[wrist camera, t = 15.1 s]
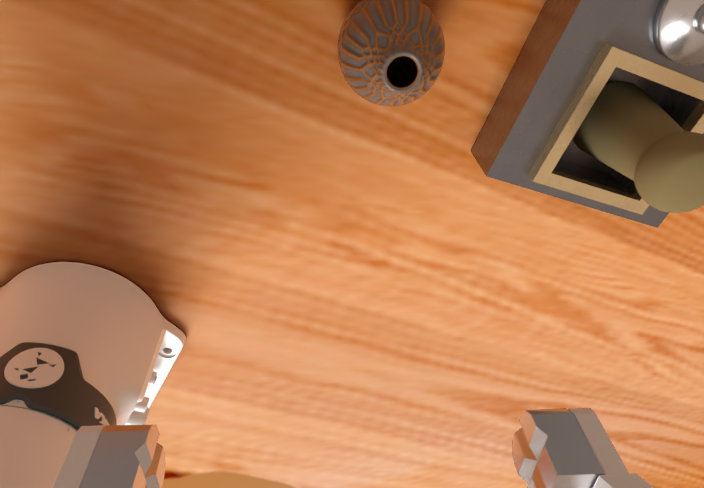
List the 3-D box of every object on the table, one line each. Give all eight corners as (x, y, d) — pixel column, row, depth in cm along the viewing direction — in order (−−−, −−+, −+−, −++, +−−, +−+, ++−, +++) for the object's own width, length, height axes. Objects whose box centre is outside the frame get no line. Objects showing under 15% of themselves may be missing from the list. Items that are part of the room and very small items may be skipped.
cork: (586, 168, 43) (662, 243, 34) (559, 111, 40) (634, 177, 31) (657, 127, 41) (757, 194, 32) (635, 64, 38) (738, 119, 29)
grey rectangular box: (629, 200, 46) (670, 239, 41) (470, 151, 42) (493, 187, 37) (781, -11, 37) (859, 5, 32) (596, -99, 33) (650, -97, 28)
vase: (327, -6, 35) (332, 20, 28) (427, -26, 35) (459, -4, 27) (344, 93, 39) (352, 139, 31) (435, 76, 38) (464, 119, 31)
